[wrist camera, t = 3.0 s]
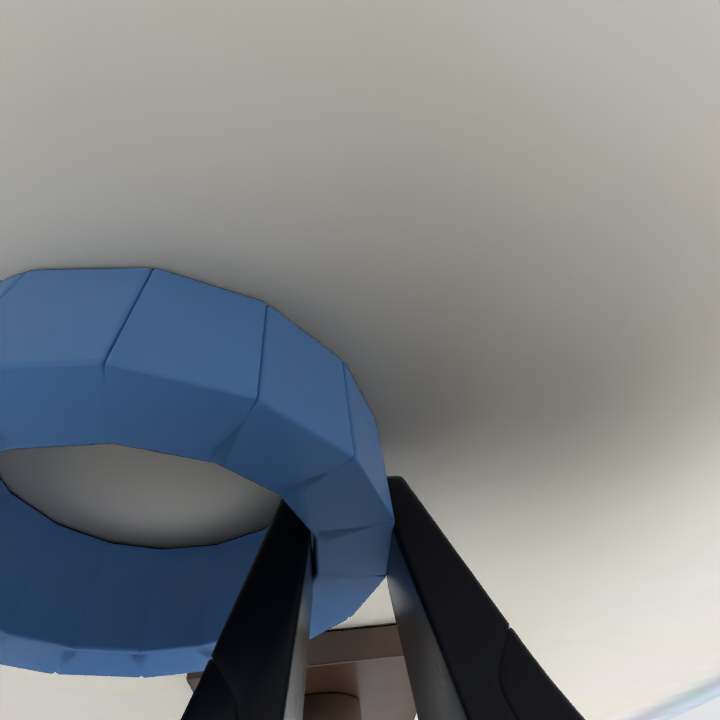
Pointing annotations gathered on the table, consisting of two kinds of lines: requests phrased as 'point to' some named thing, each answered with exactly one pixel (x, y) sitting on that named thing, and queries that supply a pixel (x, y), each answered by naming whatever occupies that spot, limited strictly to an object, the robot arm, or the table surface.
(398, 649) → the peg stand
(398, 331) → the table surface
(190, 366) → the tape
